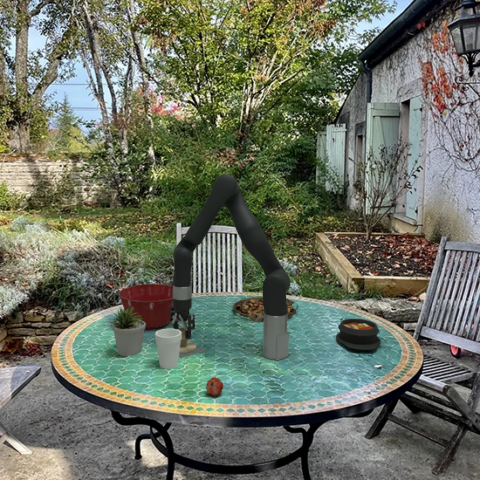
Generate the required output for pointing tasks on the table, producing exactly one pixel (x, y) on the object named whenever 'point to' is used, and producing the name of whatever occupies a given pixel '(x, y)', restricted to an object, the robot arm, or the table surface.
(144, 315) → the mixing bowl
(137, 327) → the potted plant
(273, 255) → the robot arm
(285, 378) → the table surface
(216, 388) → the pomegranate
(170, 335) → the foam cup
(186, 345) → the lid
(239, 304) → the food dish
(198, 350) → the mat
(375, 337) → the casserole
